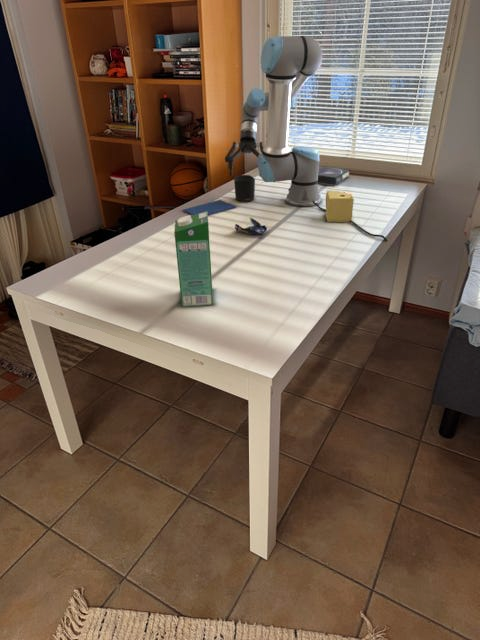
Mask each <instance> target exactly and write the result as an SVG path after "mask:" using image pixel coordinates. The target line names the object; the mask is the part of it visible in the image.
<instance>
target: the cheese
mask: <svg viewBox="0 0 480 640" xmlns="http://www.w3.org/2000/svg"><path fill="white" fill-rule="evenodd" d="M354 201H355V199H354V196H353V193H348V192H346V191H343V190H342V191H341V190H326V194H325V209H326V211H325V216H326V222H328V223H329V222H330V223H342V222H343V223H351V222H350V220H351V221H353V219H352V218H353V209H354Z"/></svg>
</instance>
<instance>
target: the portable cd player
mask: <svg viewBox="0 0 480 640" xmlns="http://www.w3.org/2000/svg"><path fill="white" fill-rule="evenodd" d="M349 176H350V171H349V169H346V168H338V167H330V166H321V165H319V170H318V184H320V185H327V186H337V185H338V184H340V183H342V182H343V181H345V180H346V179H348V178H349Z"/></svg>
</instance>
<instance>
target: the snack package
mask: <svg viewBox="0 0 480 640" xmlns="http://www.w3.org/2000/svg"><path fill="white" fill-rule="evenodd" d="M248 219H249V222H250V223H251V224H252V225H248V226H246V227H242V226H241V225H239V224H238V223H235V225H234V230H235V232H236V233H237V232H241V233H245V234H249V235H255V234H257V235H259V236H263V235H264V234H265V233H266V232H267V229H268V227H267V226H266V225H262V224H261V223H260V221H258V220H256V219H254V218H252V217H250V218H248Z"/></svg>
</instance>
